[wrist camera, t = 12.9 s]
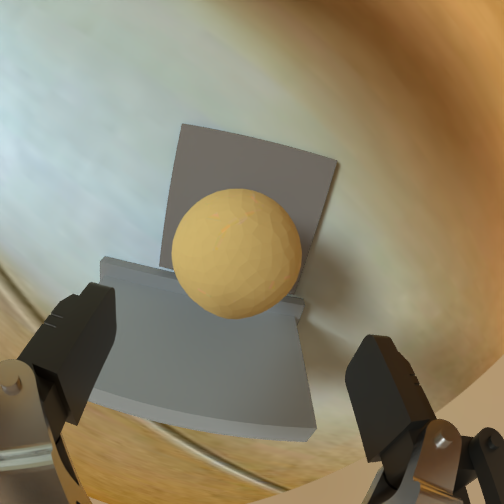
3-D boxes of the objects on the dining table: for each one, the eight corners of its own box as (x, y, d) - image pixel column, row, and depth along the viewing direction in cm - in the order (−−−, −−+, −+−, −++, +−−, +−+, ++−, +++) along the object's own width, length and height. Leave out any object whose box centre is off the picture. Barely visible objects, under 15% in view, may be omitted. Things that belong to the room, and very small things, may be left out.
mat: (183, 123, 19) (182, 123, 19) (335, 160, 20) (337, 160, 20) (160, 263, 23) (159, 266, 23) (293, 291, 25) (294, 294, 24)
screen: (104, 256, 23) (26, 347, 12) (303, 299, 25) (333, 416, 14) (105, 295, 25) (42, 392, 14) (288, 335, 26) (307, 450, 15)
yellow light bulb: (302, 222, 22) (338, 296, 13) (232, 269, 23) (223, 362, 14) (249, 150, 20) (250, 173, 10) (178, 205, 21) (128, 268, 12)
